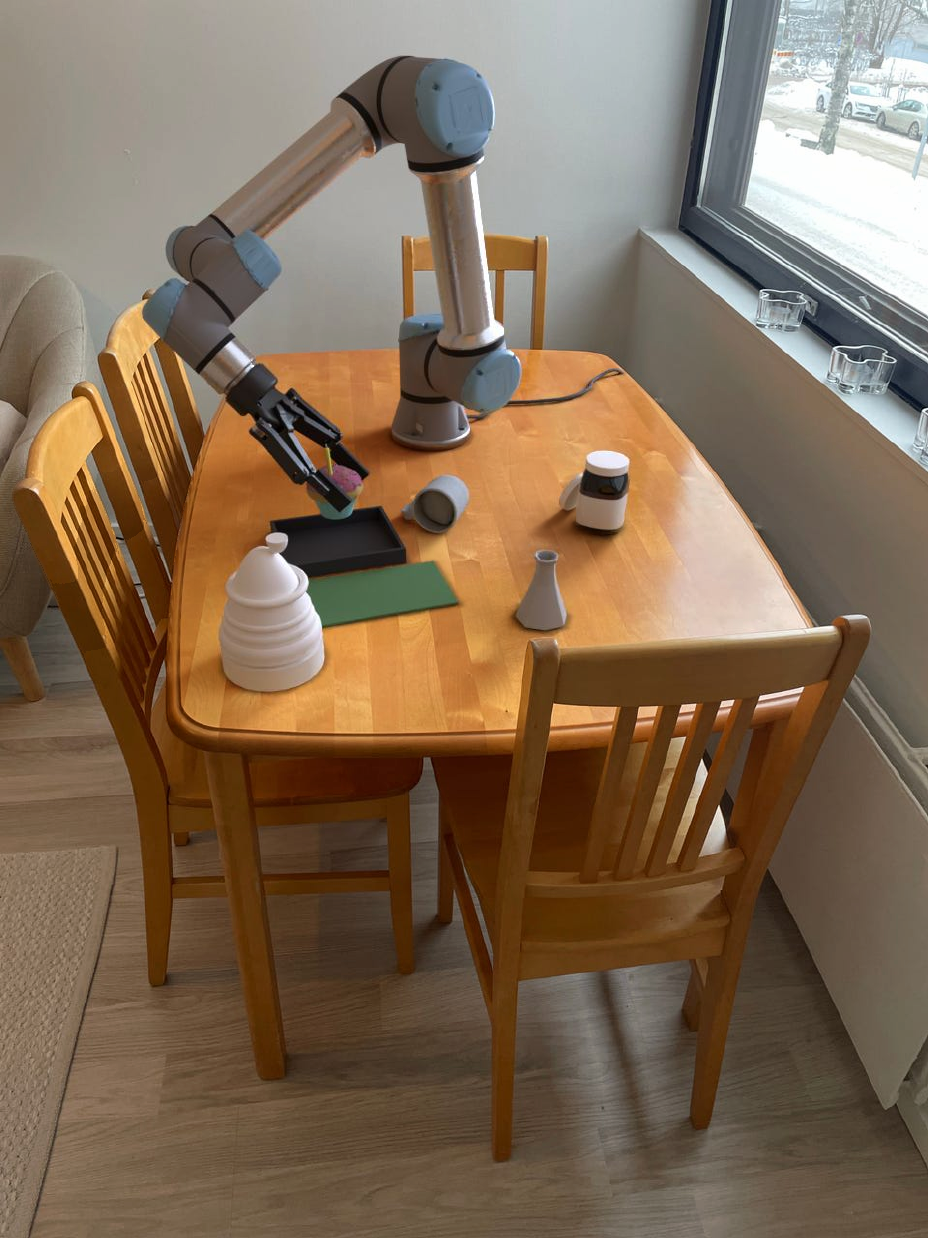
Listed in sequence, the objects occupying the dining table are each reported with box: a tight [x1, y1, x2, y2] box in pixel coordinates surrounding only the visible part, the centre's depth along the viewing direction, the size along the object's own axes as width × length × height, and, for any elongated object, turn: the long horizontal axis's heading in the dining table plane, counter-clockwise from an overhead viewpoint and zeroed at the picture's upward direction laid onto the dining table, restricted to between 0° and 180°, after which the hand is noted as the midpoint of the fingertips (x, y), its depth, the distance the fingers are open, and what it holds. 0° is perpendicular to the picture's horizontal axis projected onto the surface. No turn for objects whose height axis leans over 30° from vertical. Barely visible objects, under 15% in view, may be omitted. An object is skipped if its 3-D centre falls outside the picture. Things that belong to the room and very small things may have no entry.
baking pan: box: [269, 505, 407, 579], centre depth 141 cm, size 18×15×2 cm
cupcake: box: [305, 444, 364, 519], centre depth 135 cm, size 9×8×12 cm
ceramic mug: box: [401, 474, 470, 534], centre depth 148 cm, size 11×8×8 cm
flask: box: [515, 549, 568, 631], centre depth 125 cm, size 7×7×10 cm
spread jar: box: [558, 450, 631, 536], centre depth 148 cm, size 12×11×12 cm
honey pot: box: [218, 533, 325, 693], centre depth 113 cm, size 13×13×18 cm
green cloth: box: [306, 560, 459, 628], centre depth 131 cm, size 20×12×1 cm, turn 109°
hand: (355, 492), depth 136 cm, fingers closed on cupcake, 9 cm apart
